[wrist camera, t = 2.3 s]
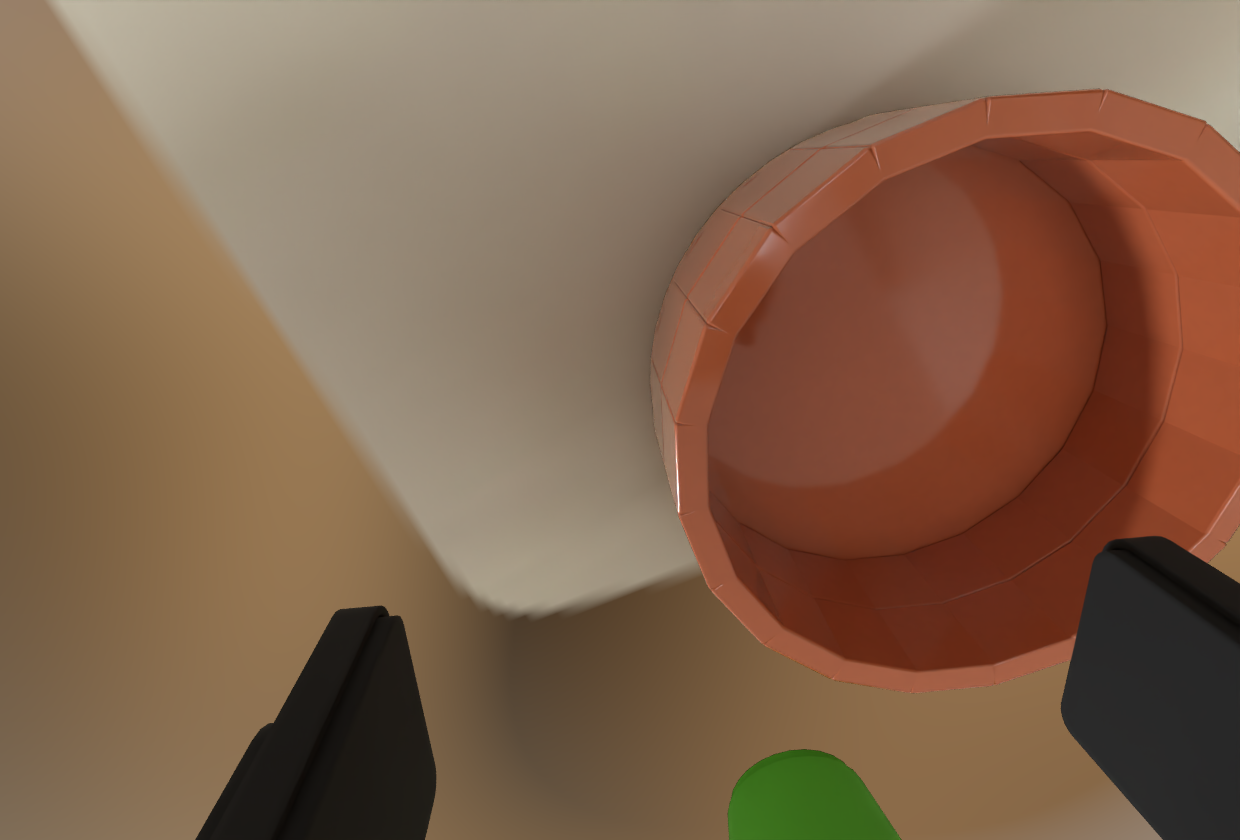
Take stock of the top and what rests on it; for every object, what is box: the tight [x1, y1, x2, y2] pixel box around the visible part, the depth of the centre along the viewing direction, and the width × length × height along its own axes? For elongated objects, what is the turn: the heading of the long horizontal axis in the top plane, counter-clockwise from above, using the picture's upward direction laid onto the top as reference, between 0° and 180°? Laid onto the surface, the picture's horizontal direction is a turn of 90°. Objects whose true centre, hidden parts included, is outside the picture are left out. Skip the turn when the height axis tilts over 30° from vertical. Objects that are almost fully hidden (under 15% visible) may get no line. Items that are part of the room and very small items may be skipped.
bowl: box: [650, 89, 1240, 693], centre depth 16 cm, size 13×13×6 cm
